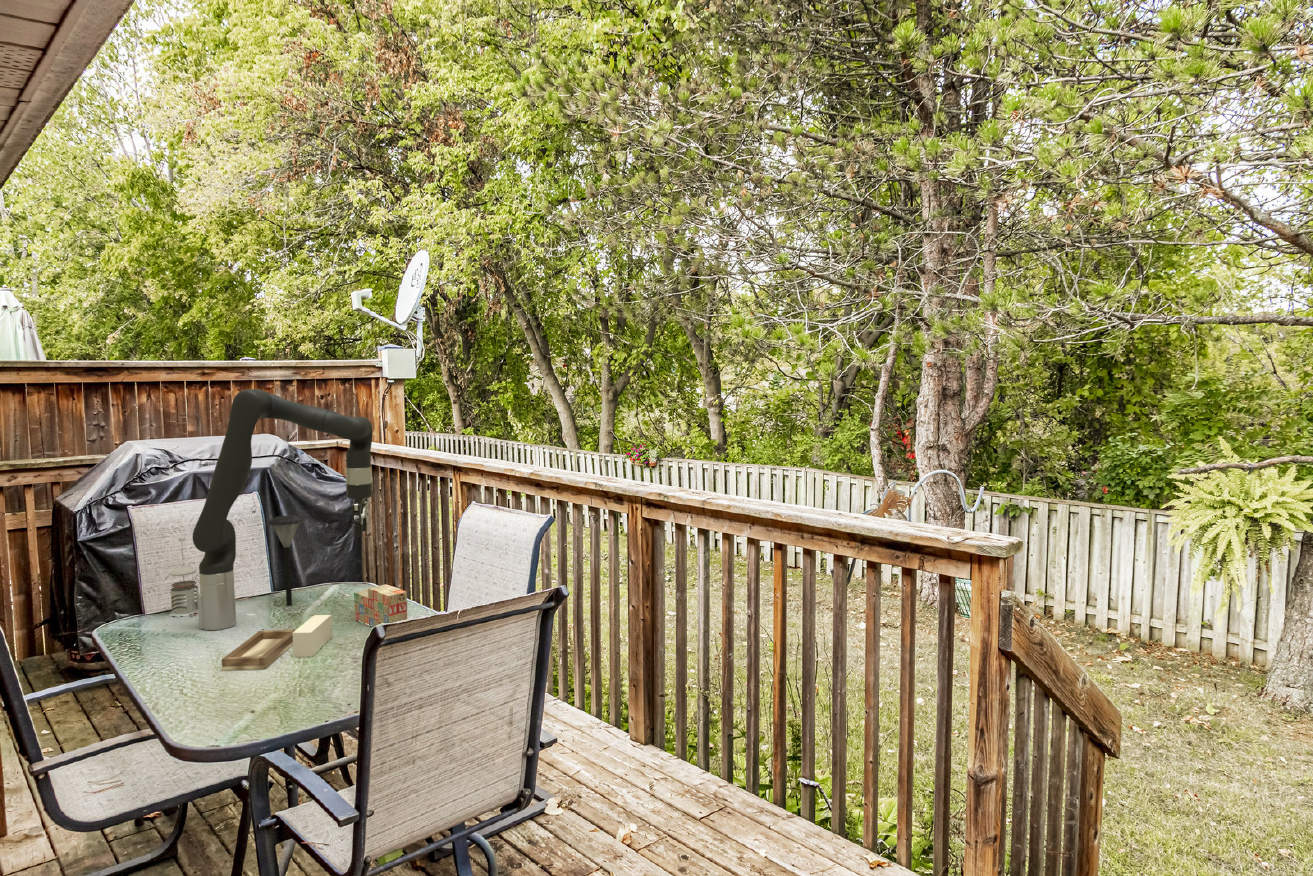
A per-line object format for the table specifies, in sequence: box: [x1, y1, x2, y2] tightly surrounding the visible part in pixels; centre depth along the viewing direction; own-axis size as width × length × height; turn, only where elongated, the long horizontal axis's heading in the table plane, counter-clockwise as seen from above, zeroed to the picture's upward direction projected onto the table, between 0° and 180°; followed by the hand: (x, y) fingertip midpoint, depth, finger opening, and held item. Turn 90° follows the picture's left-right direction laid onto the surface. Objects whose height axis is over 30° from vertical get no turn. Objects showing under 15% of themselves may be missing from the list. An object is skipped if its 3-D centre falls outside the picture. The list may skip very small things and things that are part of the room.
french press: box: [168, 536, 201, 614], centre depth 256 cm, size 10×12×25 cm
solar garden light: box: [265, 514, 306, 607], centre depth 264 cm, size 12×12×30 cm
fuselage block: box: [292, 614, 333, 658], centre depth 223 cm, size 5×16×7 cm, turn 4°
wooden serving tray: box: [221, 629, 296, 671], centre depth 218 cm, size 11×23×3 cm, turn 4°
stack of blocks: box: [353, 583, 408, 628], centre depth 242 cm, size 21×6×12 cm, turn 47°
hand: (360, 534), depth 243 cm, fingers open, 8 cm apart
